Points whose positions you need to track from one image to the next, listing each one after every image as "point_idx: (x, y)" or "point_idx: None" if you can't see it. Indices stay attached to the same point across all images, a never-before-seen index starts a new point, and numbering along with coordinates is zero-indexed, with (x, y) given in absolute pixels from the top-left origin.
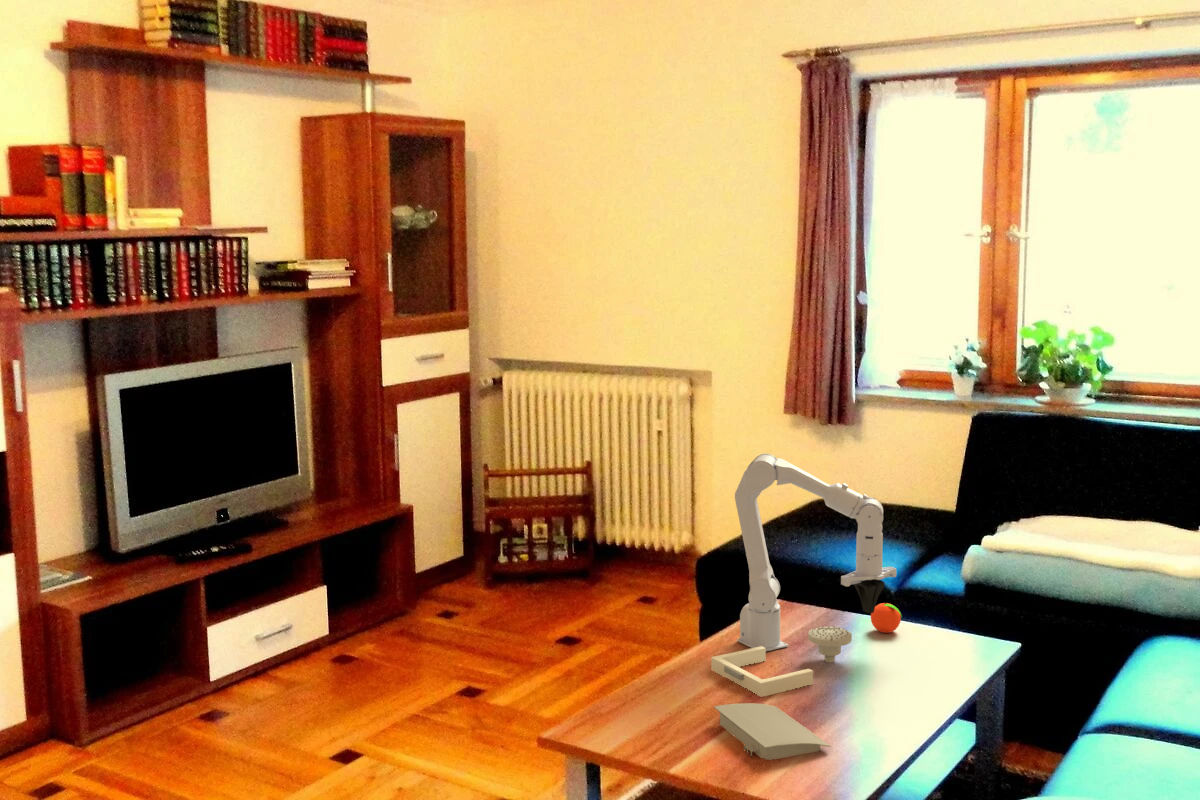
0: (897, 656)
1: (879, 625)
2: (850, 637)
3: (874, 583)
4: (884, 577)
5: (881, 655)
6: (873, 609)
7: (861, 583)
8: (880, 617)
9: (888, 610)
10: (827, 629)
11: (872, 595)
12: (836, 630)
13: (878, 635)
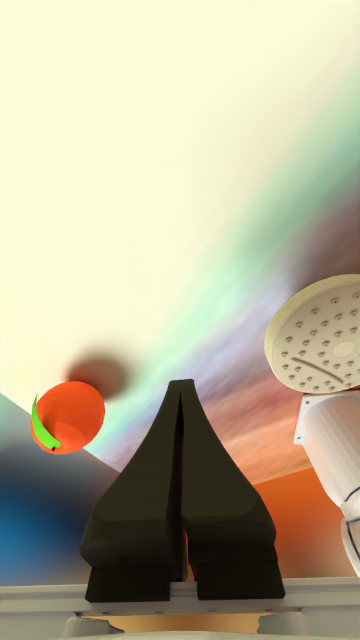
0: (131, 264)
1: (97, 397)
2: (312, 294)
3: (172, 549)
4: (40, 590)
5: (165, 287)
6: (173, 388)
7: (278, 569)
8: (89, 412)
9: (60, 423)
10: (329, 367)
11: (193, 448)
12: (314, 352)
13: (105, 381)
